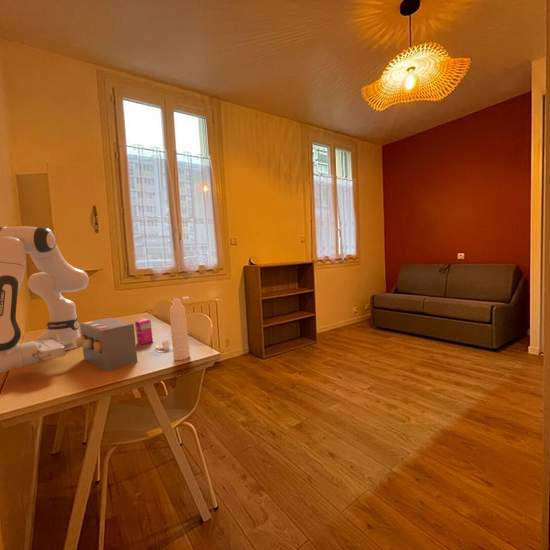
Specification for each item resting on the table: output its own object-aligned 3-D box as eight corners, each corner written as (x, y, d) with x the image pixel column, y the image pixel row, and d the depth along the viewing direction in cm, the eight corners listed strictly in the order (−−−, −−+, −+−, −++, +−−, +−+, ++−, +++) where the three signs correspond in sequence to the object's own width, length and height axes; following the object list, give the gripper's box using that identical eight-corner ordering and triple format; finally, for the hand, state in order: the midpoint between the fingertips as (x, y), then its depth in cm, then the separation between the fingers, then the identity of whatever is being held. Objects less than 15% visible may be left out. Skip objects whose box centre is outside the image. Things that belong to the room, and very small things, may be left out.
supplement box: (136, 343, 155) (134, 321, 154) (148, 340, 159) (146, 318, 158) (141, 345, 151) (139, 322, 150) (153, 342, 155) (151, 320, 154)
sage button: (86, 351, 122) (84, 341, 122) (82, 349, 125) (81, 339, 125) (94, 349, 125) (93, 339, 124) (90, 347, 127) (89, 337, 127)
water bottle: (178, 361, 124) (172, 300, 122) (170, 358, 129) (165, 299, 127) (197, 355, 130) (192, 296, 128) (189, 352, 135) (184, 296, 133)
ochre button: (79, 347, 128) (78, 338, 128) (76, 346, 131) (75, 337, 130) (87, 345, 130) (86, 336, 130) (84, 344, 133) (83, 335, 132)
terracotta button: (97, 353, 118) (96, 343, 118) (93, 351, 121) (92, 341, 121) (105, 351, 120) (104, 341, 120) (101, 349, 123) (100, 339, 123)
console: (106, 371, 118) (101, 329, 117) (83, 359, 135) (79, 322, 134) (137, 362, 127) (133, 323, 125) (112, 351, 144) (109, 316, 143)
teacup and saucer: (153, 350, 143) (152, 341, 143) (169, 346, 148) (168, 337, 148) (161, 354, 137) (160, 345, 136) (178, 349, 142) (177, 340, 142)
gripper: (35, 349, 110) (79, 340, 120) (24, 341, 124) (64, 333, 134) (37, 367, 111) (81, 355, 121) (26, 356, 125) (66, 347, 135)
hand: (72, 343), depth 128 cm, fingers closed
